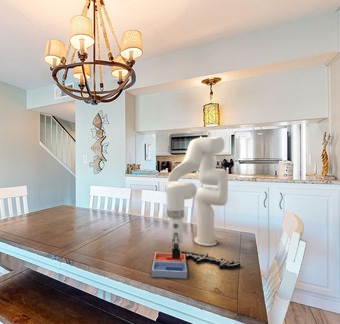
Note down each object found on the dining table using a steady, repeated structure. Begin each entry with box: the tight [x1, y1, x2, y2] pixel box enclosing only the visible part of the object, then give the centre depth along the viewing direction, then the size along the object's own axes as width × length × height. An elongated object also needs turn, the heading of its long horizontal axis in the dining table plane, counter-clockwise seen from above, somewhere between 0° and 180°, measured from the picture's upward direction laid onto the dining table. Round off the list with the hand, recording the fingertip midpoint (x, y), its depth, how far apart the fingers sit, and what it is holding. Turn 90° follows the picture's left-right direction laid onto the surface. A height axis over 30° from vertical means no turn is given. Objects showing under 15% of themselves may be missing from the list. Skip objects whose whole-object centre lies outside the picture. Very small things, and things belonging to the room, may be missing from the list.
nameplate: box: [180, 250, 241, 270], centre depth 98 cm, size 28×2×10 cm
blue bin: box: [151, 260, 188, 280], centre depth 88 cm, size 14×8×3 cm, turn 85°
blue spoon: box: [156, 265, 183, 271], centre depth 88 cm, size 11×4×2 cm, turn 84°
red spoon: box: [158, 256, 182, 261], centre depth 97 cm, size 11×4×2 cm, turn 85°
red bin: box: [153, 252, 187, 263], centre depth 97 cm, size 14×8×3 cm, turn 85°
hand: (176, 252), depth 90 cm, fingers open, 9 cm apart
